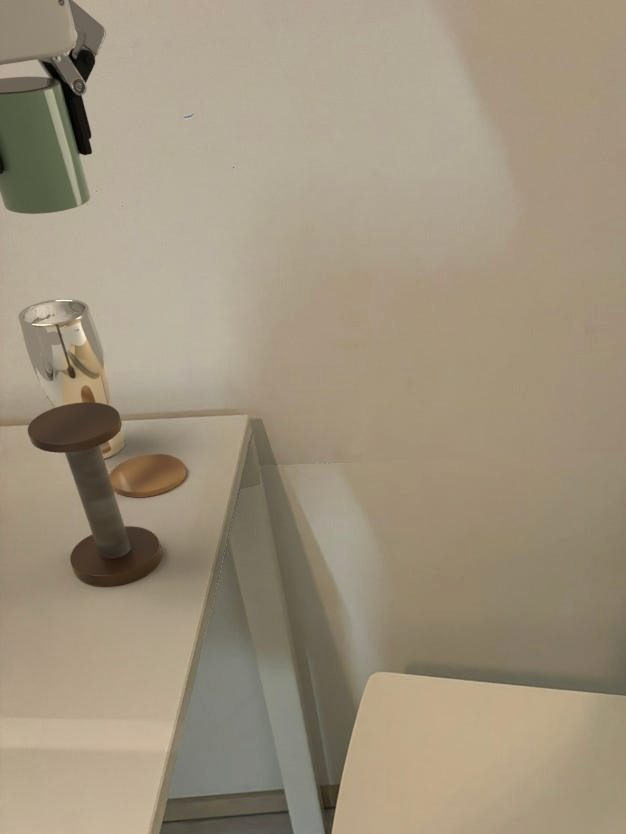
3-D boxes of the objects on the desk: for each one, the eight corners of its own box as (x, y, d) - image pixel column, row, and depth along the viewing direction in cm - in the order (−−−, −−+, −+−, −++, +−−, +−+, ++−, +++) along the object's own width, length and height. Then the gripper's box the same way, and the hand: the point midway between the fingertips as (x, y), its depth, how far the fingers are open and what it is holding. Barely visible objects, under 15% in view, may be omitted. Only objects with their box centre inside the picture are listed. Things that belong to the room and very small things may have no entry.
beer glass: (137, 451, 101) (100, 315, 91) (72, 470, 98) (26, 331, 88) (117, 425, 105) (78, 292, 95) (54, 443, 102) (8, 308, 92)
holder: (60, 586, 83) (7, 445, 74) (91, 535, 89) (45, 399, 80) (147, 587, 83) (105, 446, 74) (172, 536, 89) (135, 400, 79)
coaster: (99, 496, 94) (98, 491, 94) (123, 458, 100) (122, 453, 99) (174, 497, 94) (173, 492, 93) (194, 459, 100) (193, 454, 99)
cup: (-10, 213, 71) (-50, 93, 66) (25, 189, 76) (-10, 75, 71) (72, 214, 71) (39, 94, 66) (102, 189, 76) (73, 75, 71)
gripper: (44, -147, 67) (111, 132, 78) (-221, -141, 57) (-99, 176, 69) (100, -146, 63) (161, 147, 75) (-175, -139, 53) (-54, 196, 65)
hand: (35, 158), depth 72 cm, fingers closed on cup, 6 cm apart
